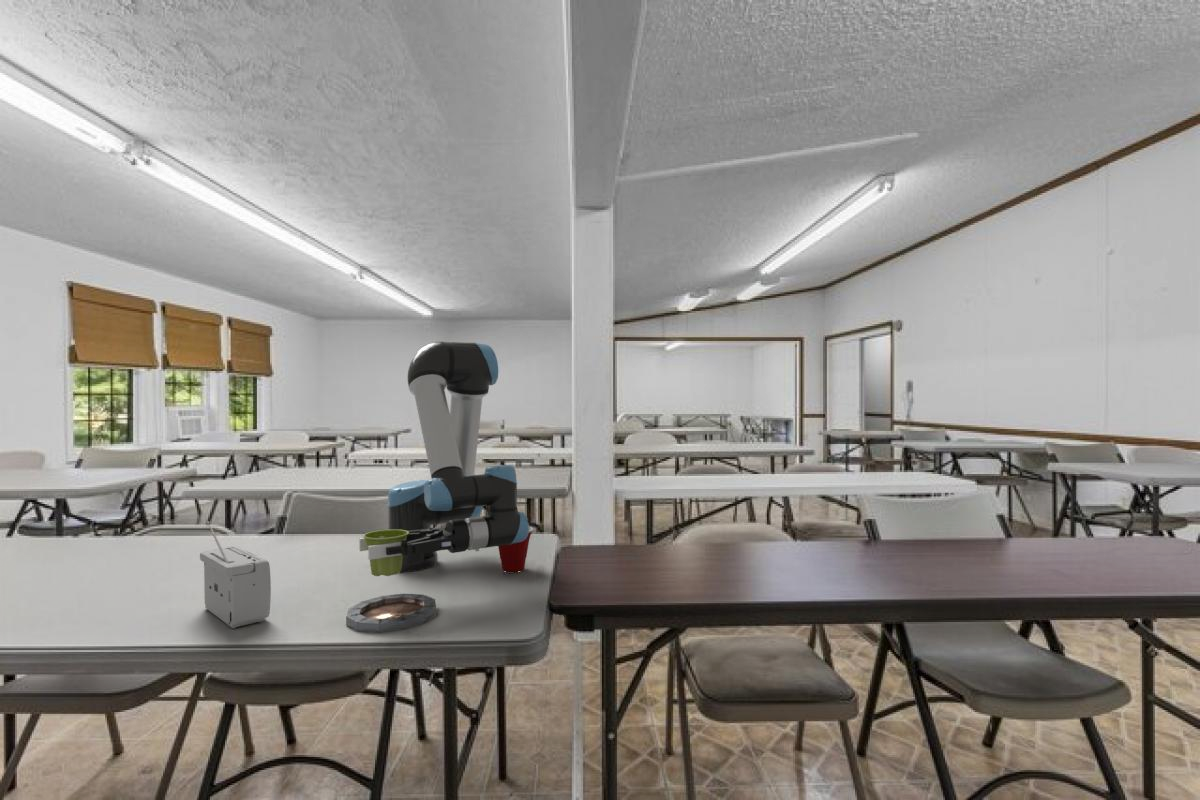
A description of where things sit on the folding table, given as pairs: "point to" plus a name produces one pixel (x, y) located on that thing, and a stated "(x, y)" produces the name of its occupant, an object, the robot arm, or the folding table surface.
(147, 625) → the folding table surface
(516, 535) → the robot arm
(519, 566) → the plastic cup
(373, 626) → the steel ring
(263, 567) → the stereo radio cassette player
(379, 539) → the plant pot
